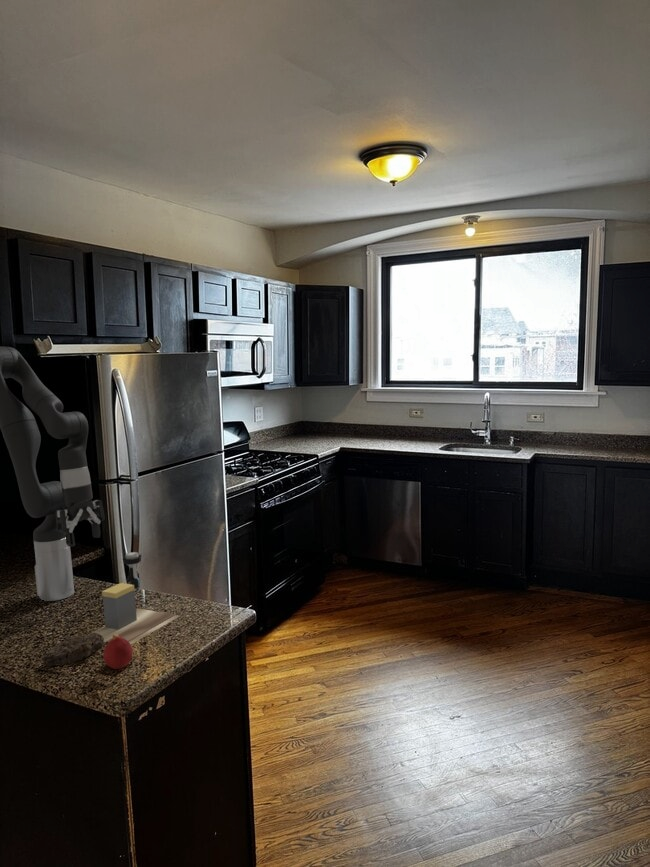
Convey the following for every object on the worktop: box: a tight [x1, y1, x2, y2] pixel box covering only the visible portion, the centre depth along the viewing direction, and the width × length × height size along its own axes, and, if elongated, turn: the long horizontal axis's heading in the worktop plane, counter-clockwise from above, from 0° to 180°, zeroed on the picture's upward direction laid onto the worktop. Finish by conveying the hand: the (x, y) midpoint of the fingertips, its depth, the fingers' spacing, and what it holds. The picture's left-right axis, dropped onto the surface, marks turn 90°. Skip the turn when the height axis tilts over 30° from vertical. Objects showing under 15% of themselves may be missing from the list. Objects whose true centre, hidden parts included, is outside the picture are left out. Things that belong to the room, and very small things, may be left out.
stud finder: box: [101, 582, 137, 630], centre depth 145 cm, size 4×6×9 cm
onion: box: [102, 634, 133, 670], centre depth 124 cm, size 6×6×8 cm
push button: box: [122, 551, 142, 589], centre depth 176 cm, size 7×5×10 cm
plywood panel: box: [87, 608, 181, 645], centre depth 144 cm, size 14×18×1 cm
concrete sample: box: [41, 632, 105, 667], centre depth 131 cm, size 12×10×5 cm
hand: (84, 541), depth 164 cm, fingers open, 8 cm apart
